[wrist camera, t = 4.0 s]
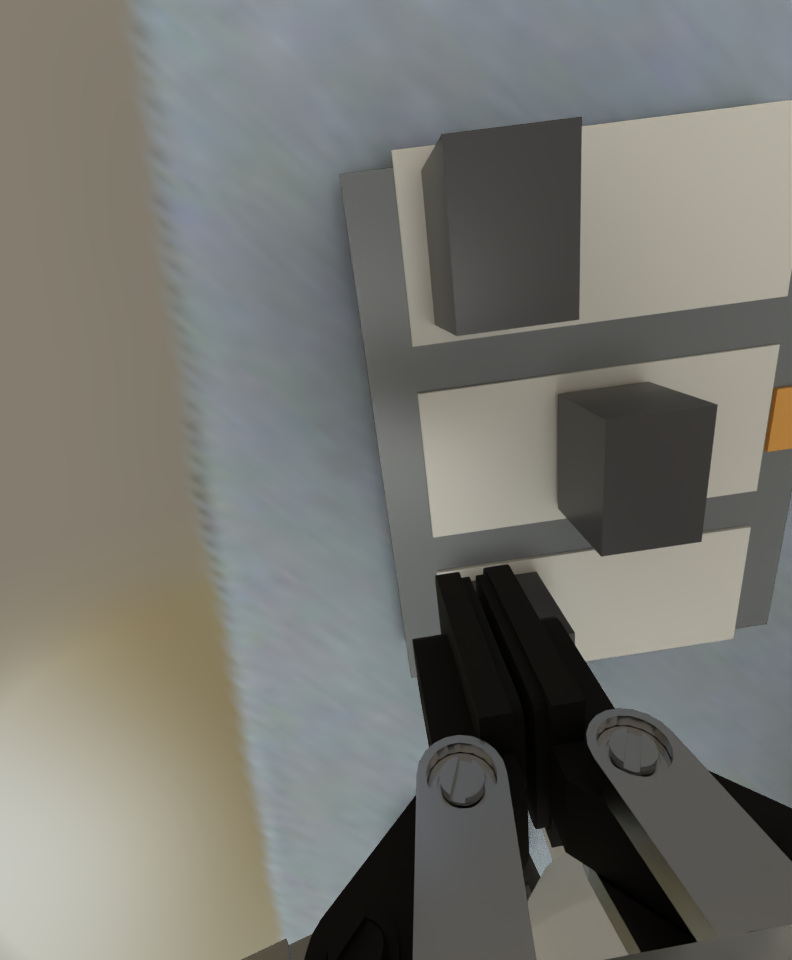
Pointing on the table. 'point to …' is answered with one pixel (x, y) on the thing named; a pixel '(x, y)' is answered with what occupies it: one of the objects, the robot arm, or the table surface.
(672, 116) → the breaker panel
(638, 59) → the table surface
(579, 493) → the block
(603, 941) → the champagne flute
